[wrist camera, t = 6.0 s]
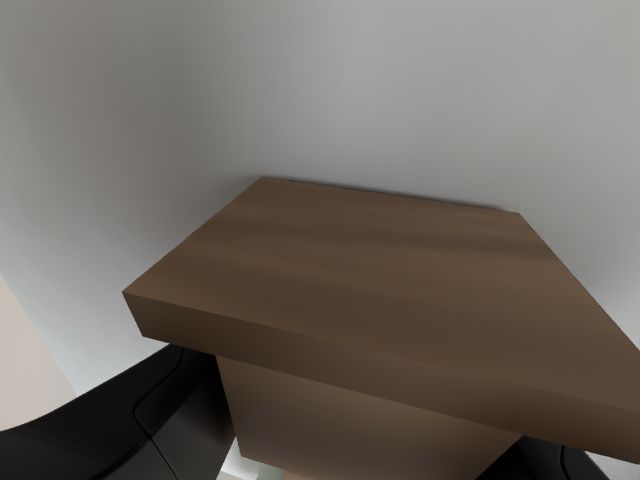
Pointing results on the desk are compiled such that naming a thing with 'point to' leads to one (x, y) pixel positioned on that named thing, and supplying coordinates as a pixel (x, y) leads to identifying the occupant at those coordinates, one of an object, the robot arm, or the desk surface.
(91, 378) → the desk surface
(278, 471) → the cradle
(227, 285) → the brown wooden stepped block
